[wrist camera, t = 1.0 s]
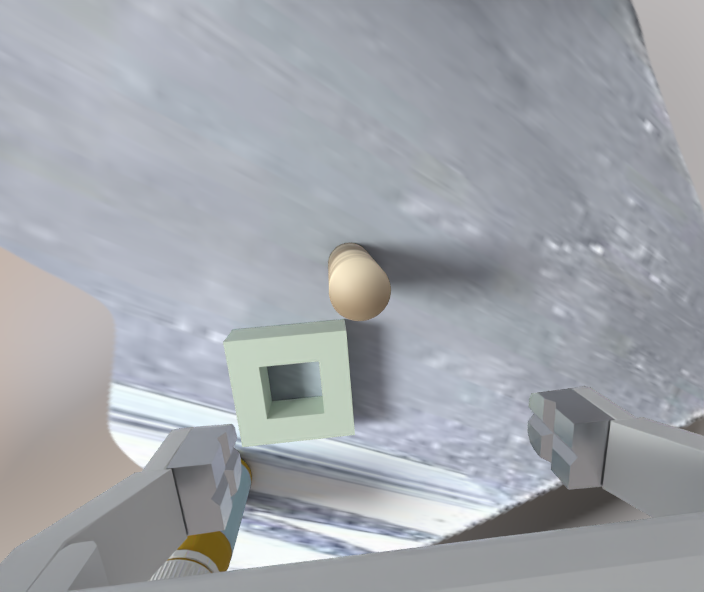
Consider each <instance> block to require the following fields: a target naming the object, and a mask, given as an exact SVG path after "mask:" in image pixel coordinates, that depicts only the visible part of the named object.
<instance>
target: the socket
mask: <svg viewBox="0 0 704 592" xmlns="http://www.w3.org/2000/svg"><path fill="white" fill-rule="evenodd" d="M223 344H224V349H225V354H226V360H227V365H228V371H229V376H230V382H231V387H232V393H233V398H234V404H235V409H236V415H237V420H238V426H239V431H240V437H241V442H242V447H248V446H257V445H267V444H276V443H285V442H294V441H303V440H312V439H321V438H330V437H339V436H348V435H355V430H354V418H353V406H352V394H351V382H350V370H349V358H348V346H347V334H346V326H345V320H344V319H341V320H331V321H320V322H309V323H298V324H288V325H277V326H266V327H255V328H245V329H234V330H232V331H231V333H230V334H229V335H228V336H227V338H226V339H225V340H224V342H223ZM316 361H319V367H320V376H321V386H322V395H323V396H317V397H307V398H298V399H288V400H279V401H272V397H271V390H270V384H269V377H268V370H267V366H275V365H286V364H296V363H306V362H316Z"/></svg>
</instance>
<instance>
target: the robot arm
mask: <svg viewBox="0 0 704 592" xmlns="http://www.w3.org/2000/svg"><path fill="white" fill-rule="evenodd" d="M529 408H530V410H531V411H532V412H533V415H532V417H531V418H530V419H529V421H528V436H529V439H530V443H531V445H532V447H533V449H534V450H535V452H536V453H537V454H538V455H539V456H540V457H541V458H543V459H545V460H547V461H549V462H551V470H552V471H553V473H554V474H555V475H556V476H557V477H558V478H559V479H560V481H561V482H562V483H563V484H564V485H565V486H566V487H567V488H568V489H577V488H589V487H601V486H603V489H605V490H607V491H608V492H610V493H612V494H613V495H615V496H617V497H619V498H620V499H622V500H624V501H625V502H627V503H629V504H631V505H632V506H634V507H635V508H637V509H639V510H641V511H642V512H644V513H646V514H647V515H649V516H651V517H652V518H649V519H642V520H633V521H625V522H617V523H609V524H600V525H592V526H585V527H576V528H569V529H560V530H552V531H544V532H537V533H528V534H520V535H513V536H505V537H497V538H488V539H481V540H472V541H465V542H457V543H449V544H441V545H433V546H425V547H417V548H409V549H401V550H393V551H385V552H377V553H369V554H361V555H353V556H345V557H337V558H329V559H321V560H313V561H304V562H296V563H288V564H280V565H272V566H264V567H256V568H248V569H240V570H232V571H224V572H216V573H208V574H200V575H192V576H184V577H176V578H168V579H160V580H152V581H148V580H149V579H150V578H151V577H152V576H153V575H154V574H155V573H156V571H157V570H158V569H159V568H160V567H161V566H162V565H163V564H164V563H165V562H166V561H167V560H168V558H169V557H170V556H171V555H172V554H173V553H174V552H175V551H176V550H177V549H178V548H179V547H180V545H181V544H182V543H183V542H184V541H185V540H186V539H187V536H189V535H196V534H203V533H210V532H216V531H223V530H225V528H226V525H227V522H228V519H229V516H230V513H231V509H232V501H231V497H232V496H233V495H234V494H235V493H236V492H237V491H238V487H239V484H240V478H241V458H240V453H239V452H238V451H237V450H236V449H235V448H234V445H235V442H236V440H237V435H236V431H235V427H234V426H233V424H224V425H212V426H200V427H188V428H179V429H174V430H172V431H171V432H170V433H169V434H168V436H167V437H166V439H165V440H164V441H163V443H162V444H161V446H160V447H159V448H158V450H157V451H156V453H155V454H154V455H153V457H152V458H151V459H150V461H149V462H148V464H147V465H146V466H145V468H144V469H143V471H142V472H137V473H134V474H132V475H131V476H129V477H127V478H126V479H125V480H123V481H121V482H119V483H118V484H116V485H115V486H113V487H112V488H110V489H108V490H107V491H105V492H103V493H102V494H100V495H99V496H97V497H96V498H94V499H92V500H91V501H89V502H88V503H86V504H84V505H83V506H81V507H80V508H78V509H77V510H75V511H73V512H72V513H70V514H69V515H67V516H65V517H64V518H62V519H60V520H59V521H57V522H56V523H54V524H52V525H51V526H49V527H48V528H46V529H44V530H43V531H41V532H40V533H38V534H37V535H35V536H33V537H32V538H30V539H29V540H27V541H25V542H24V543H22V544H21V545H19V546H17V547H16V548H15V549H14V550H13V551H12V552H11V553H10V554H9V555H8V556H7V557H6V558H5V559H4V560H3V561H2V562H1V564H0V592H704V436H702V435H699V434H696V433H693V432H689V431H686V430H683V429H680V428H676V427H673V426H670V425H666V424H663V423H660V422H657V421H653V420H650V419H647V418H644V417H639V418H636V417H635V416H633V415H632V414H630V413H629V412H627V411H626V410H624V409H623V408H621V407H620V406H618V405H617V404H615V403H614V402H612V401H611V400H609V399H607V398H606V397H604V396H603V395H601V394H600V393H598V392H597V391H595V390H594V389H592V388H591V387H586V386H582V387H575V388H568V389H561V390H554V391H546V392H538V393H532V394H531V396H530V398H529Z"/></svg>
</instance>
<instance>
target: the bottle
mask: <svg viewBox="0 0 704 592" xmlns="http://www.w3.org/2000/svg"><path fill="white" fill-rule="evenodd" d="M251 481H252V475H251V470H250V468H249V467H248V465H247V464H246V463H245V462H244V461H243V460H242V459H241V478H240V484H239V487H238V491H237V492H236V493H235V494H234V495H233V496H232V497H231V501H232V509H231V513H230V516H229V519H228V522H227V525H226V528H225V530H223V531H216V532H210V533H203V534H196V535H189V536H187V539H186V540H185V541H184V542H183V543H182V544H181V545H180V547H179V548H178V549H177V550H176V551H175V552H174V553H173V554H172V555H171V556H170V557H169V558H168V560H167V561H166V562H165V563H164V564H163V565H162V566H161V567H160V568H159V569H158V570H157V571H156V573H155V574H154V575H153V576H152V577H151V578H150V579H149V580H148V581H152V580H160V579H168V578H176V577H184V576H192V575H200V574H208V573H216V572H224V571H227V569H228V567H229V563H230V560H231V557H232V553H233V550H234V546H235V542H236V539H237V535H238V531H239V527H240V524H241V520H242V516H243V513H244V509H245V505H246V501H247V498H248V494H249V490H250V486H251Z"/></svg>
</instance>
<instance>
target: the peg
mask: <svg viewBox="0 0 704 592" xmlns="http://www.w3.org/2000/svg"><path fill="white" fill-rule="evenodd" d="M328 271H329V296H330V300H331V303H332V305H333V307H334V309H335V310H336V311H337V312H338V313H339V314H340V315H342V316H343V317H345V318H347V319H350V320H354V321H365V320H369V319H372V318H374V317H376V316H377V315H379V314H380V313H381V312H382V311H383V310H384V309H385V307H386V306H387V304H388V302H389V299H390V294H391V286H390V281H389V279H388V277H387V275H386V273H385V272H384V271H383V270H382V269H381V267H380V266H379V265H378V264H377V263H376V262H375V260H374V259H373V258H372V257H371V256H370V255H369V254H368V252H367V251H366V250H365V249H364V248H363V247H362V246H360V245H358V244H355V243H344V244H341V245H339V246H337V247H336V248H335V249H334V250H333V251H332V253H331V254H330V257H329V261H328Z"/></svg>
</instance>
